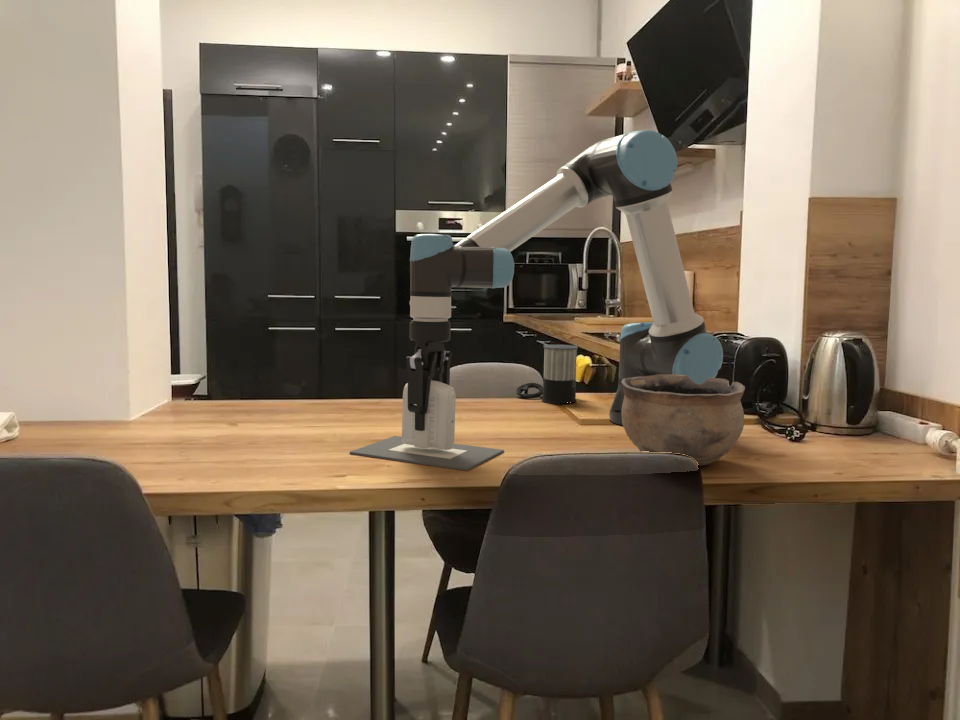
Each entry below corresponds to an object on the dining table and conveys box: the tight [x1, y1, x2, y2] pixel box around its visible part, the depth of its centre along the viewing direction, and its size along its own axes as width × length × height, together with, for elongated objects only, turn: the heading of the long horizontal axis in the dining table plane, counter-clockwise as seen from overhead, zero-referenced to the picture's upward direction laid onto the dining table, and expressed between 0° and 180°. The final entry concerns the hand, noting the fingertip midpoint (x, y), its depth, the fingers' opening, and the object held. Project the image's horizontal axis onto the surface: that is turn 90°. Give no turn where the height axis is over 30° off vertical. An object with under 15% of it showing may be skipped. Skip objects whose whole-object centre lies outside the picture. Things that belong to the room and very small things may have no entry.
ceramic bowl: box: [621, 374, 746, 466], centre depth 142 cm, size 22×22×15 cm
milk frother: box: [516, 344, 579, 405], centre depth 208 cm, size 14×16×15 cm
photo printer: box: [401, 380, 457, 450], centre depth 145 cm, size 10×4×12 cm, turn 67°
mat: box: [349, 435, 505, 471], centre depth 146 cm, size 24×16×1 cm, turn 65°
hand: (428, 444), depth 146 cm, fingers closed on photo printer, 4 cm apart
